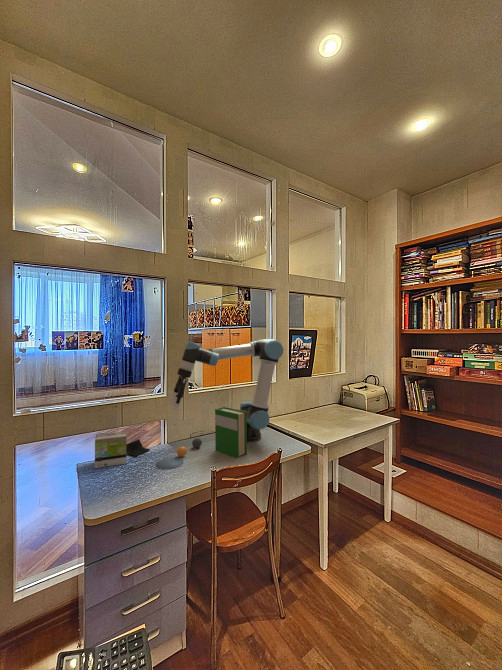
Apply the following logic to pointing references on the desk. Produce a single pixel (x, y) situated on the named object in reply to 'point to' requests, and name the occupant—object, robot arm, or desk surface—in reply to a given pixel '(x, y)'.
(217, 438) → the hardback book
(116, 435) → the tea box
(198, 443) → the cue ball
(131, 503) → the desk surface
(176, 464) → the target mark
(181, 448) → the orange ball
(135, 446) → the black bookend
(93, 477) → the desk surface
